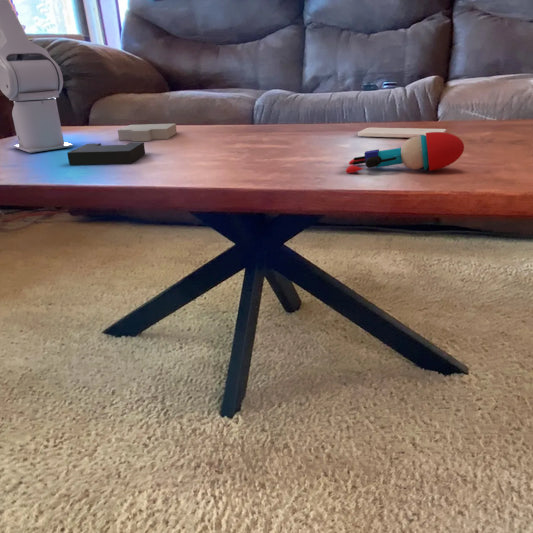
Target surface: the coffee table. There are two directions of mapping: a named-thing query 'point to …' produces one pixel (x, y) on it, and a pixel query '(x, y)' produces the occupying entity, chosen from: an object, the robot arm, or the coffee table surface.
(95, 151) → the black pad
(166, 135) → the grey pad
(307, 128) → the coffee table surface
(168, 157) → the coffee table surface
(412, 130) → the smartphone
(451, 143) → the toy figure
